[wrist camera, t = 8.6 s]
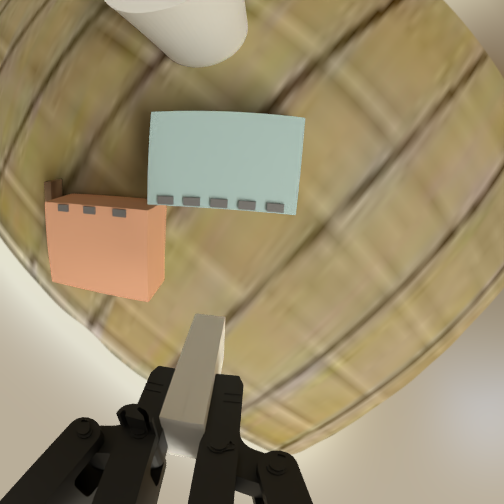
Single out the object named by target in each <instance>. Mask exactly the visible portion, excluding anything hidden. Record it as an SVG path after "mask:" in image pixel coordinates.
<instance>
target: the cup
mask: <svg viewBox="0 0 504 504" xmlns="http://www.w3.org/2000/svg"><path fill="white" fill-rule="evenodd" d="M104 1H105V2H106V3H107V4H108V5H109V6H110V7H112V8H113V9H114V10H115V11H117V12H118V13H119V14H120V15H121V16H123V17H124V18H125V19H126V20H127V21H129V22H130V23H131V24H132V25H133V26H134V27H136V28H137V29H138V30H139V31H140V32H141V33H143V34H144V35H145V36H146V37H147V38H148V39H149V40H150V41H152V42H153V43H154V44H155V45H156V46H157V47H158V48H159V49H160V50H162V51H163V52H164V53H165V54H166V55H167V56H168V57H169V58H170V59H171V60H173V61H174V62H176V63H178V64H180V65H183V66H187V67H207V66H211V65H215V64H217V63H220V62H222V61H224V60H226V59H228V58H229V57H230V56H232V55H233V54H234V53H235V52H236V51H237V50H238V49H239V48H240V47H241V45H242V44H243V42H244V40H245V38H246V35H247V31H248V23H247V16H246V8H245V1H244V0H104Z"/></svg>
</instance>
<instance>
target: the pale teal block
mask: <svg viewBox="0 0 504 504" xmlns="http://www.w3.org/2000/svg"><path fill="white" fill-rule="evenodd" d="M304 125H305V118H301V117H293V116H284V115H273V114H262V113H247V112H227V111H162V112H151V122H150V136H149V155H148V195H147V204H148V205H169V206H187V207H203V208H218V209H232V210H244V211H257V212H268V213H279V214H290V215H296V208H297V199H298V190H299V180H300V170H301V159H302V149H303V137H304Z"/></svg>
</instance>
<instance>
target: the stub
mask: <svg viewBox="0 0 504 504" xmlns="http://www.w3.org/2000/svg"><path fill="white" fill-rule="evenodd" d="M166 208H167V205H148V204H147V199H146V198H134V197H121V196H107V195H92V194H76V193H72V194H68V195H65V196H62V197H59V198H55V199H52V200H49V201H46V202H45V218H46V233H47V244H48V253H49V261H50V269H51V275H52V281H53V282H57V283H61V284H65V285H69V286H73V287H77V288H82V289H86V290H91V291H95V292H100V293H104V294H109V295H114V296H119V297H124V298H129V299H134V300H139V301H145V302H149V301H150V299H151V298H152V296H153V295H154V294H155V292H156V291H157V290H158V288H159V287H160V285H161V284H162V283H163V281H164V280H165V230H166Z"/></svg>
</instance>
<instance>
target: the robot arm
mask: <svg viewBox="0 0 504 504" xmlns="http://www.w3.org/2000/svg"><path fill="white" fill-rule="evenodd" d="M224 335H225V317H222V316H212V315H203V314H195V316H194V319H193V322H192V324H191V327H190V330H189V333H188V335H187V338H186V341H185V344H184V346H183V349H182V352H181V355H180V358H179V360H178V363H177V366H176V369H174V368H168V367H163V366H158V367H157V368H156V369H155V370H153V371H152V372H151V374H150V376H149V378H148V381H147V383H146V386H145V388H144V390H143V393H142V395H141V397H140V400H139V402H138V404H129V405H125V406H123V407H122V408H121V409H119V411H118V412H117V413H116V414H117V416H118V419H119V421H120V424H121V425H117V426H99V424H98V423H97V422H96V421H95V420H93V419H90V418H84V417H82V418H78V419H76V420H74V421H73V422H72V423H71V424H70V425H69V426H68V427H67V428H66V429H65V430H64V431H63V432H62V434H60V436H59V437H58V438H57V439H56V440H55V441H54V442H53V443H52V444H51V446H49V448H48V449H47V450H46V451H45V452H44V453H43V454H42V455H41V456H40V457H39V458H38V460H37V461H36V462H35V463H34V464H33V465H32V466H31V467H30V468H29V470H28V471H27V472H26V473H25V474H24V475H23V476H22V477H21V478H20V479H19V481H18V482H17V483H16V484H15V485H14V486H13V487H12V488H11V489H10V491H9V492H8V493H7V494H6V495H5V496H4V497H3V498H2V500H1V501H0V504H157V501H158V496H159V492H160V488H161V484H162V480H163V476H164V472H165V468H166V459H165V456H166V452H167V449H168V452H169V454H172V455H178V456H184V457H189V458H195V459H196V463H195V468H194V474H193V479H192V484H191V489H190V495H189V500H188V504H234V493H235V491H238V492H241V493H244V494H247V495H249V496H252V499H253V503H254V504H313V503H312V501H311V497H310V495H309V492H308V490H307V487H306V485H305V482H304V479H303V477H302V474H301V472H300V469H299V467H298V464H297V462H296V460H295V459H294V457H293V456H291V455H290V454H289V453H286V452H283V451H271V452H268V453H263V452H260V451H257V450H254V449H252V448H250V447H248V446H247V445H246V444H244V442H243V441H242V439H241V437H240V421H241V409H242V396H243V383H242V381H241V379H240V377H239V376H234V375H224V374H221V370H222V364H223V359H224Z"/></svg>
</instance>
